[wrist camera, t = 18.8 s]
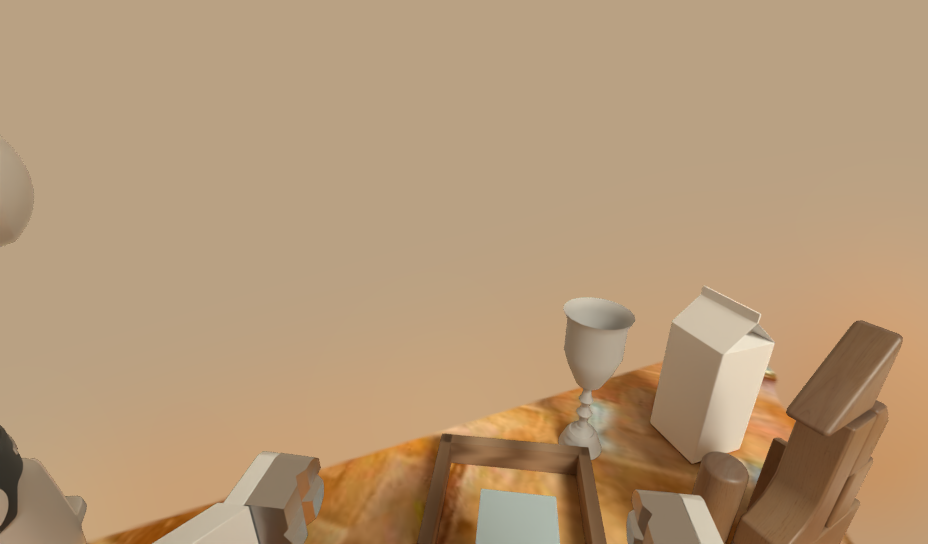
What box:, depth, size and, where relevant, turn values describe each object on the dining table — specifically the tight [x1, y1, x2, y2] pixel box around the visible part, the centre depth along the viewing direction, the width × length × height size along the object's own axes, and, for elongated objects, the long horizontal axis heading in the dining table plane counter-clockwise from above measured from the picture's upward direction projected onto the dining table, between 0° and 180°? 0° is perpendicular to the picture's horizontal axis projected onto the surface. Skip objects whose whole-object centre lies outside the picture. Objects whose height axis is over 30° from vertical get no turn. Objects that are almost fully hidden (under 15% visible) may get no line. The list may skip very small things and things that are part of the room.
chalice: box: [558, 298, 635, 460], centre depth 49 cm, size 7×7×18 cm
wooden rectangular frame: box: [417, 434, 607, 544], centre depth 43 cm, size 16×13×3 cm
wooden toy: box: [692, 321, 903, 544], centre depth 35 cm, size 16×7×25 cm, turn 118°
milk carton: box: [650, 286, 775, 464], centre depth 50 cm, size 7×7×19 cm
